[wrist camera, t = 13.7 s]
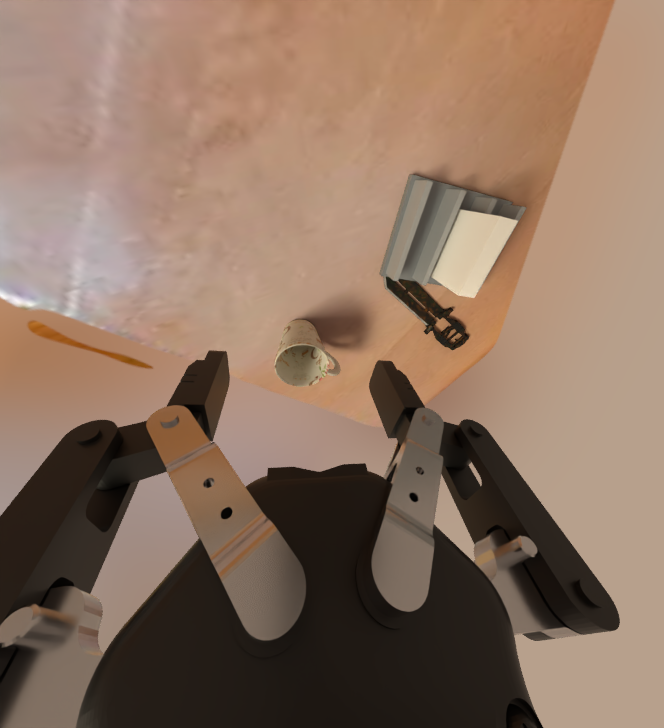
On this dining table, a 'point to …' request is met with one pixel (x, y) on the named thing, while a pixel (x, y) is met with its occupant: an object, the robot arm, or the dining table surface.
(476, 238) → the cream rectangular block
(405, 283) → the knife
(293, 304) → the dining table surface
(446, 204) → the dish rack
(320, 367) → the mug
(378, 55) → the dining table surface
